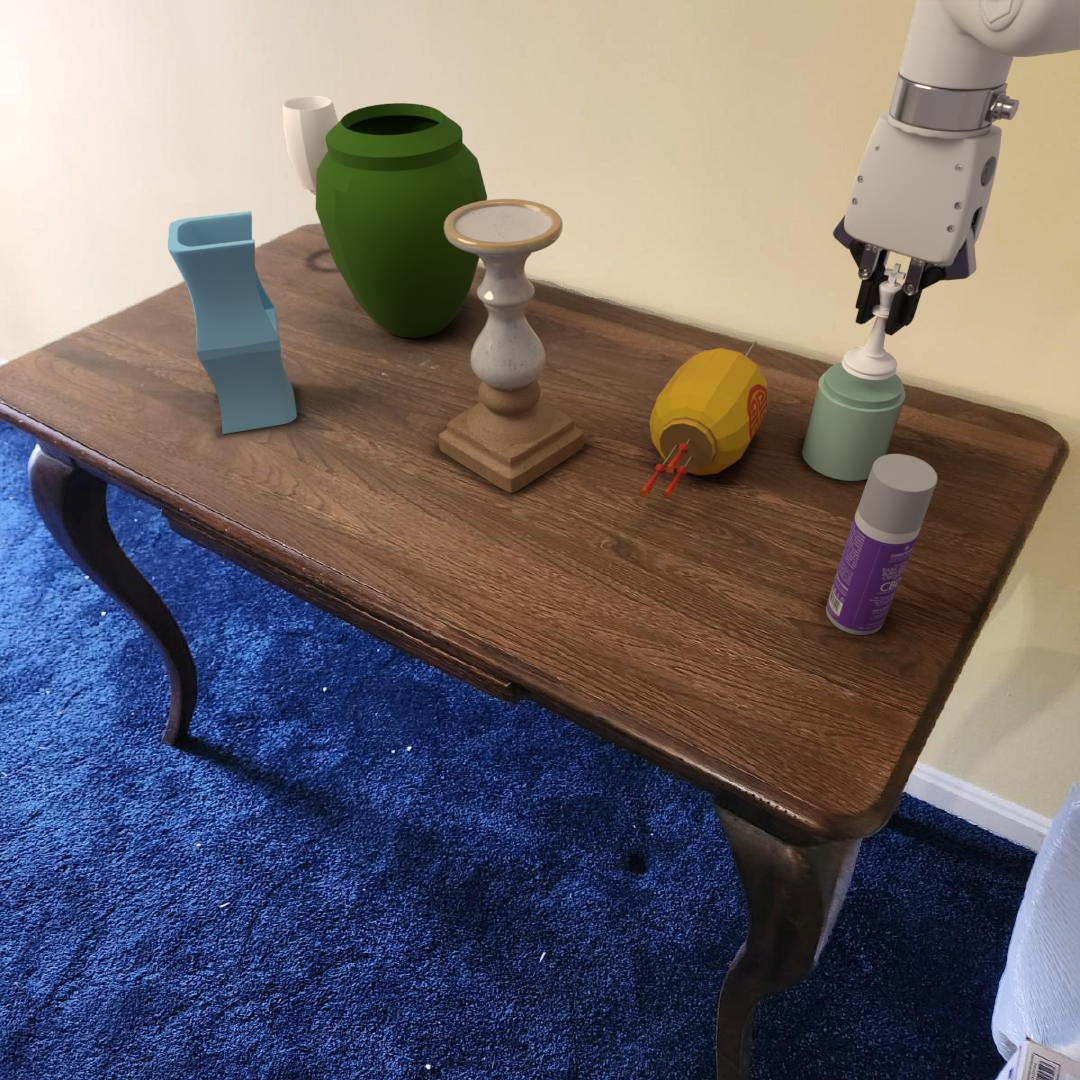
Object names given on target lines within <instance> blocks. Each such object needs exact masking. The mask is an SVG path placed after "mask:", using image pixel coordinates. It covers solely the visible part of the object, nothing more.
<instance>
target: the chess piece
mask: <svg viewBox="0 0 1080 1080" xmlns="http://www.w3.org/2000/svg"><path fill="white" fill-rule="evenodd" d="M901 266H902V264H901V263H898V262H896V263H894V264H893V268H889V267H886V270H885V273H884V275H888V276H889V280H888V281H884V282H882V283H881V284H880V285H879V293H880V305H876V306H874V307H873V309H872V313H873V314H874V315H875V317H876V318H875V321H874V323H873V326H872V328H871V330H870V333H869V335H868V338H867V340H866V342H865V344H864V345H861V346H858V347H854V348H851V349H849V350H847V351H845V353H844V355H843V357H842V359H841V363H842V366H843V368H844V369H845V370H846V371H847V372H848V373H850V374H851V375H853V376H856V377H859V378H862V379H867V380H884V379H888V378H890V377H892V376H893V375H895V374H897V367H898V361H897V359H896V358H895V357H894V355H892V354H891V353H890V352H888V351H886V349H885V339H886V335H887V334H886V332H885V331H884V330H885V326H886V323H887V319H888V316H889V312H890V309H891V305H892V302H893V298H894V295H895V293H896V292H897V291H899V290H900V289H901V288H902V286H903V284H902V283H899V282H898V280H901V281H903V280H905V279H906V275H907V272H903V271H900V270H901V268H902V267H901Z"/></svg>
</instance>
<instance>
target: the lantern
mask: <svg viewBox="0 0 1080 1080" xmlns="http://www.w3.org/2000/svg"><path fill="white" fill-rule="evenodd" d="M757 344H758V342H757V340H755V341H754V342H753V343H752V345H751V346H750V347H749V349H748V351H747V352H746V354H745V355H744V354H743V353H742V352H740V351H735V350H731V349H727V348H722V347H718V348H714V349H709V350H704V351H700V352H699V353H696V354H694V355H693V356H692V357H690V358H689V359H687V361H685V362H684V363H683V364H682V365H681V366H679V368H677V370H676V372H675V373H674V374H673V376H672V377H671V378H670V379H669V381H668V382H667V384H665V386H664V388H663V389H662V390H661V392H659V394H658V395H657V396H656V400H655V403H654V406H653V408H652V411H651V413H650V418H649V423H648V425H649V431H650V438H651V442H652V444H653V446H654V447H655V449H656V450H657V451H658V453H659V455H660V456H661V458H662V459H664V462H663V463H658V464H656V466H655V467H654V469H655V472H654V473H653V474H652V475H651V477H650V478H649V480H648V481H647V482H646V483H645V485H644V486H643V487H642V489H641V490H640V491H639V495H640V496H641V497H642V498H648V496H649V494H650V493H651V490H652V489H653V487H654V485H655V483H656V482H657V480H658V478H659V477H660V475H661V474H665V473H668V474H673V473H674V471H675V469H676V472H677V473H676V474H675V476H674V478H673V479H672V481H670V483H669V484H668V486H666V488H665V490H664V491H663V493H662V496H663V497H664V498H666V499H670V498H671V497H672V494H673V493H674V491H675V490H676V487H677V485H678V483H679V482H680V480H681V478H682V477H683V476H686V475H687V474H688V473H689V474H692V475H695V476H706V475H716V474H719V473H720V472H722V471H723V470H725V469H727V468H728V467H730V466H731V465H733V464H735V463H736V462H737V461H739V460H740V459H741V458H742V457H743V455H744V453H745V452H746V450H747V448H748V446H749V444H750V443H751V441H752V439H753V438H754V436H755V434H756V433H757V430H758V429H759V427H760V426H761V423H762V421H763V419H764V418H765V415H766V413H767V412H768V409H769V393H768V392H769V391H768V381H767V379H766V377H765V376H764V374H763V373H762V371H761V369H760V367H759V365H758V364H757V363H755V362H754V361H753V360H752V359H750V358H749V356H750V354H751V353H752V351H753V350H754V348H755V347H756V345H757ZM667 462H668V464H667V466H666V465H665V464H666V463H667Z"/></svg>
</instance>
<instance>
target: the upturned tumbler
mask: <svg viewBox="0 0 1080 1080" xmlns="http://www.w3.org/2000/svg"><path fill="white" fill-rule="evenodd" d="M905 399H906V390H905V387H904V383H903V381H902V379H901V378H900V377H899V375H898V374H897V373H895V375H893V376H892V377H890V378H888V379H884V380H867V379H862V378H859V377H856V376H853V375H851V374H850V373H848V372H847V371H846V370H845V369H844V368H843V366H842V362H838V363H835V364H833V365H831V366H830V367H829V368H827V369H826V371H825V372H824V373H823V374H822V375H821V376H820V377H819V379H818V383H817V387H816V391H815V395H814V400H813V404H812V408H811V410H810V416H809V420H808V424H807V428H806V432H805V436H804V440H803V444H802V448H801V454H802V457H803V460H804V461H805V462H806V464H807V465H808V466H809V467H810V468H812V469H813V470H814V471H815V472H817V473H819V474H821V475H823V476H825V477H829V478H831V479H835V480H840V481H847V482H856V481H857V482H858V481H859V482H860V481H864V480H868V477H869V475H870V472H871V469H872V466H873V464H874V462H875V461H876V460H877V459H878V458H879V457H881V456H884V455H888V451H889V448H890V446H891V442H892V439H893V436H894V433H895V431H896V430H895V429H896V426H897V423H898V421H899V417H900V415H901V411H902V409H903V405H904V403H905Z"/></svg>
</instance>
